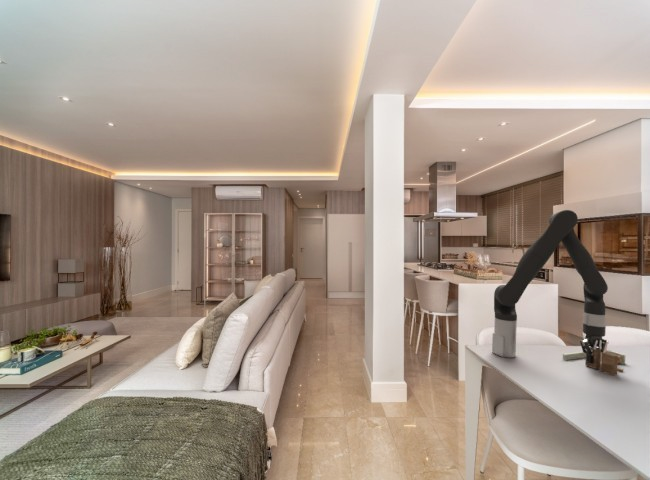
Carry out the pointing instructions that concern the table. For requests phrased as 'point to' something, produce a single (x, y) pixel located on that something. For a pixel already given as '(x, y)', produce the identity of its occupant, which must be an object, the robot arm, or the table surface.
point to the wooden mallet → (598, 359)
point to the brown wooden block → (610, 364)
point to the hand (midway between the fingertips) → (592, 362)
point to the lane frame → (582, 355)
